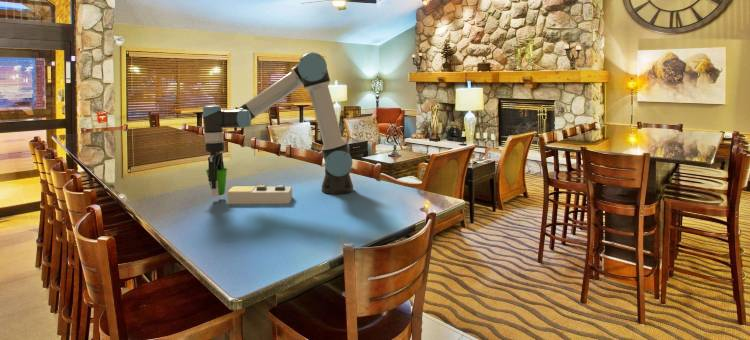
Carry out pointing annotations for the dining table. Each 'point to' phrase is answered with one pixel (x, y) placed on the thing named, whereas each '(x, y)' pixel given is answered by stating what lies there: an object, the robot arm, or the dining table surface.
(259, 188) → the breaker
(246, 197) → the box
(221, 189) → the cup
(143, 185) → the dining table surface
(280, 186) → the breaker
